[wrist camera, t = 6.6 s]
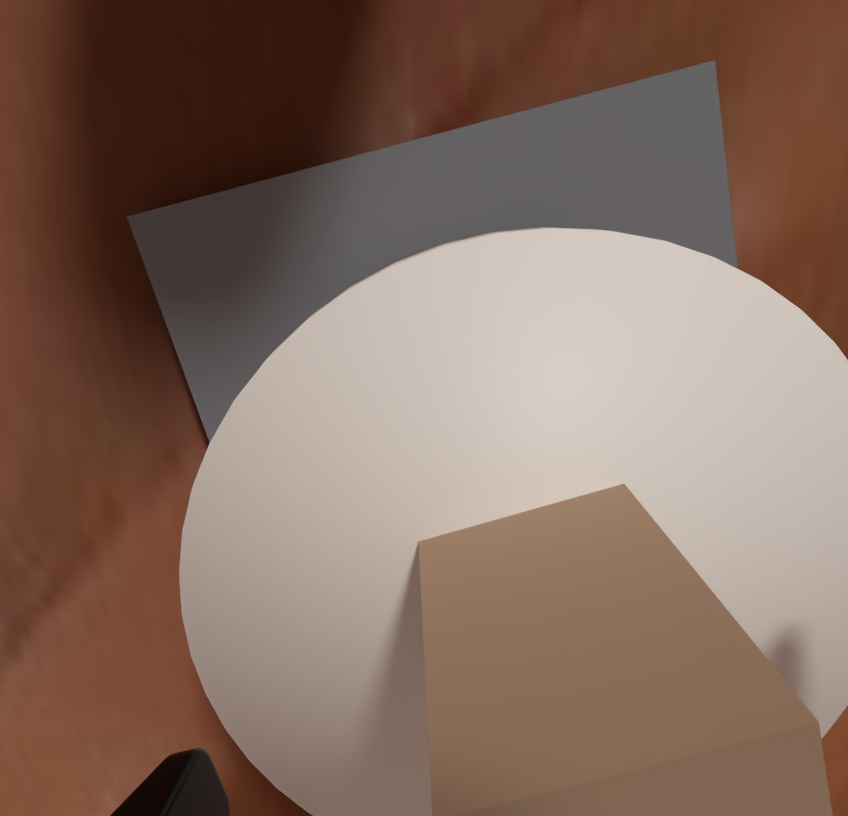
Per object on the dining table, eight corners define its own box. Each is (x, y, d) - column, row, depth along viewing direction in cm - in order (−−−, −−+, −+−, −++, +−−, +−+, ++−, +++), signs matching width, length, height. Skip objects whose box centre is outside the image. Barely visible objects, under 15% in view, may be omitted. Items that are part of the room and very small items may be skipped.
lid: (818, 127, 9) (1421, 9, 4) (886, 737, 12) (1269, 1153, 7) (86, 351, 9) (-308, 527, 4) (326, 880, 12) (271, 1370, 7)
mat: (701, 66, 13) (714, 60, 13) (767, 638, 17) (779, 652, 17) (138, 216, 14) (126, 216, 13) (327, 739, 18) (325, 757, 17)
